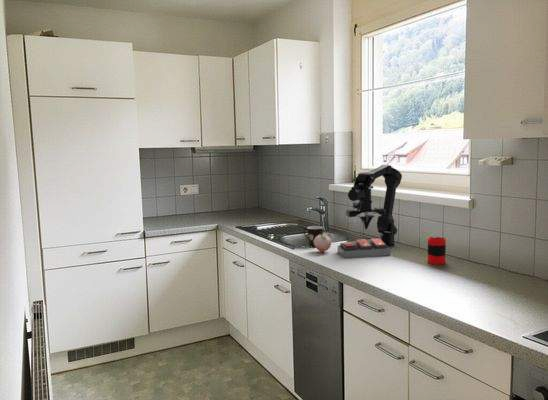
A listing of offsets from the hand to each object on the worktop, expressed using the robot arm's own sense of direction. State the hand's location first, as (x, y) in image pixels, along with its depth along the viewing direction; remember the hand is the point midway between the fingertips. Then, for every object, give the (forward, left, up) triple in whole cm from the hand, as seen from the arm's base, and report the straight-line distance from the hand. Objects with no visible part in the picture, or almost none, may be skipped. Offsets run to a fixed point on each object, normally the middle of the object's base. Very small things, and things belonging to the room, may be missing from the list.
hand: (365, 229), depth 234 cm
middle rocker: (+3, +5, -7) cm, 9 cm away
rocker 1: (+10, +5, -7) cm, 13 cm away
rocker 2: (-5, +5, -7) cm, 9 cm away
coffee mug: (+22, -19, -12) cm, 32 cm away
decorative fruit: (+21, -3, -12) cm, 25 cm away
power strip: (+3, +5, -11) cm, 13 cm away
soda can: (-24, +28, -12) cm, 38 cm away
